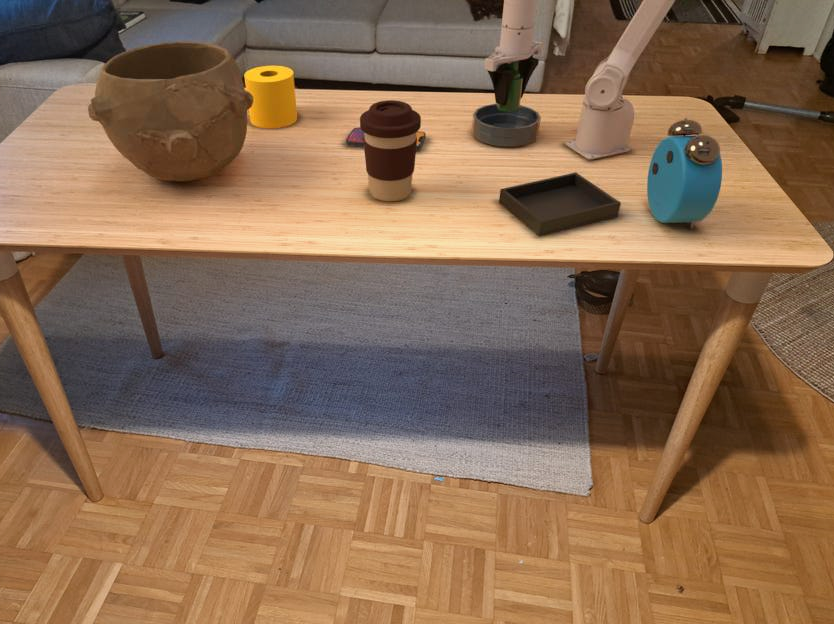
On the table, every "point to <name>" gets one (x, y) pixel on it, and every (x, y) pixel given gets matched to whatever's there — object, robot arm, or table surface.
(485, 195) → the table surface
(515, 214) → the tray
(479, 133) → the dish
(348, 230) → the table surface
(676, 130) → the alarm clock
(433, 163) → the table surface
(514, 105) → the bottle
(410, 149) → the coffee cup
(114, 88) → the bowl
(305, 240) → the table surface
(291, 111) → the yellow toilet paper roll
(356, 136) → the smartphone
